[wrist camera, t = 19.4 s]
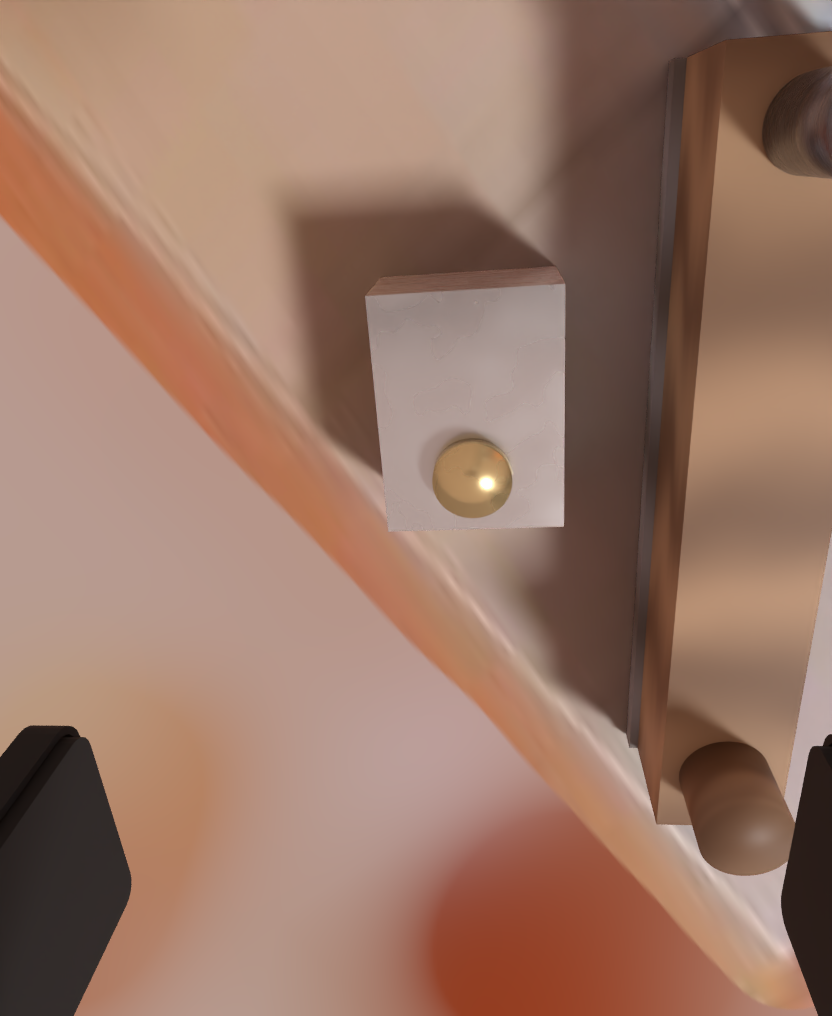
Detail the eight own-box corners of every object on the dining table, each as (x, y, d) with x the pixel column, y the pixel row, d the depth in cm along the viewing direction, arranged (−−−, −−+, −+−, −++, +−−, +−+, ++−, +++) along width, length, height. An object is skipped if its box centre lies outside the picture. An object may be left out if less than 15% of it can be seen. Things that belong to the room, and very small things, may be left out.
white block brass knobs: (381, 276, 27) (362, 299, 23) (555, 265, 26) (567, 286, 22) (400, 485, 30) (386, 539, 26) (555, 480, 30) (565, 534, 26)
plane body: (668, 61, 23) (748, 23, 16) (849, 46, 23) (1015, 0, 16) (626, 734, 34) (662, 891, 27) (748, 735, 34) (819, 896, 27)
